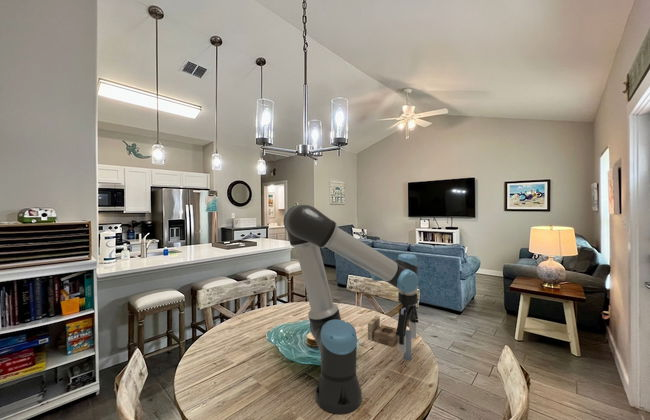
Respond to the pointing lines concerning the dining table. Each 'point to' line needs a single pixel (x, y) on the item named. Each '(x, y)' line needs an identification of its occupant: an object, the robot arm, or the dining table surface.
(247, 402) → the dining table surface
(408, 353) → the dowel
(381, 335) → the block
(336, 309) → the robot arm
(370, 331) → the jig
